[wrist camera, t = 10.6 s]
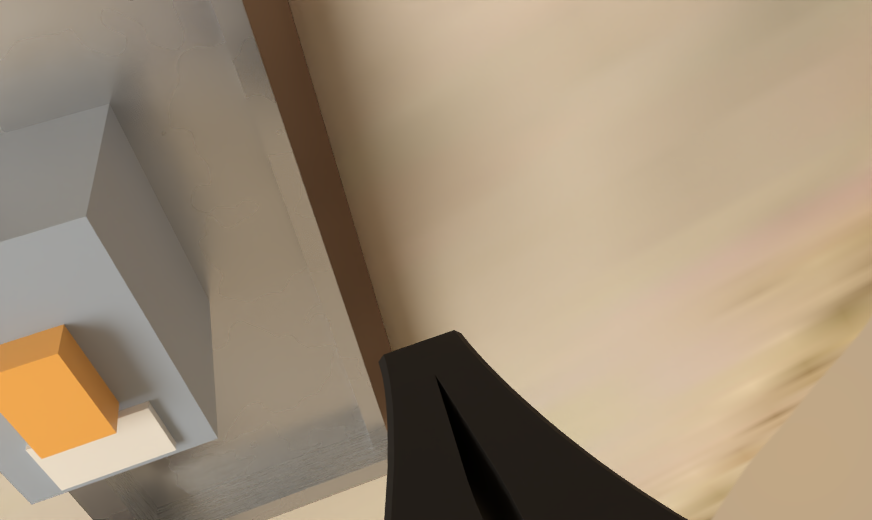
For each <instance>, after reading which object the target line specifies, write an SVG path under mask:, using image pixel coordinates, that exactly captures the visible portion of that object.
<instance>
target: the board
mask: <svg viewBox="0 0 872 520" xmlns="http://www.w3.org/2000/svg"><path fill="white" fill-rule="evenodd" d="M242 1H243V4H244V7H245V10H246V13H247V16H248V19H249V22H250V25H251V28H252V31H253V33H254V36H255V39H256V42H257V45H258V48H259V51H260V54H261V57H262V60H263V63H264V66H265V69H266V72H267V75H268V78H269V81H270V84H271V87H272V90H273V93H274V96H275V99H276V102H277V105H278V108H279V111H280V114H281V117H282V120H283V123H284V126H285V129H286V132H287V135H288V138H289V140H290V143H291V146H292V149H293V152H294V155H295V158H296V161H297V164H298V167H299V170H300V173H301V176H302V179H303V182H304V185H305V188H306V191H307V194H308V197H309V200H310V203H311V206H312V209H313V212H314V215H315V218H316V221H317V224H318V227H319V230H320V233H321V236H322V239H323V242H324V245H325V247H326V250H327V253H328V256H329V259H330V262H331V265H332V268H333V271H334V274H335V277H336V280H337V283H338V286H339V289H340V292H341V295H342V298H343V301H344V304H345V307H346V310H347V313H348V316H349V319H350V322H351V325H352V328H353V331H354V334H355V337H356V340H357V343H358V346H359V349H360V352H361V355H362V357H363V360H364V363H365V366H366V369H367V372H368V375H369V378H370V381H371V384H372V387H373V390H374V393H375V396H376V399H377V402H378V405H379V408H380V411H381V414H382V417H383V420H384V423H385V426H386V429H387V411H386V399H385V390H384V384H383V378H382V373H381V369H380V366H379V363H378V362H379V360H380V359H381V357H382V356H383V355H384V354H387V353H390V352H392V351H391V348H390V345H389V341H388V338H387V335H386V331H385V328H384V324H383V321H382V318H381V314H380V311H379V307H378V304H377V301H376V297H375V294H374V291H373V287H372V284H371V280H370V277H369V274H368V270H367V267H366V264H365V260H364V257H363V253H362V250H361V247H360V243H359V240H358V236H357V233H356V230H355V226H354V223H353V220H352V216H351V213H350V209H349V206H348V203H347V199H346V196H345V193H344V189H343V186H342V182H341V179H340V176H339V172H338V169H337V165H336V162H335V159H334V155H333V152H332V149H331V145H330V142H329V138H328V135H327V132H326V128H325V125H324V122H323V118H322V115H321V111H320V108H319V105H318V101H317V98H316V94H315V91H314V88H313V84H312V81H311V78H310V74H309V71H308V67H307V64H306V61H305V57H304V54H303V51H302V47H301V44H300V40H299V37H298V34H297V30H296V27H295V23H294V20H293V17H292V13H291V10H290V7H289V3H288V0H242Z"/></svg>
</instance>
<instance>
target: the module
mask: <svg viewBox="0 0 872 520" xmlns="http://www.w3.org/2000/svg"><path fill="white" fill-rule="evenodd" d="M215 439H218V430H217V414H216V398H215V382H214V366H213V350H212V334H211V318H210V302H209V300H208V298H207V296H206V294H205V292H204V290H203V288H202V286H201V284H200V282H199V280H198V278H197V276H196V274H195V272H194V270H193V268H192V266H191V264H190V262H189V260H188V258H187V256H186V254H185V252H184V250H183V248H182V246H181V244H180V242H179V240H178V238H177V236H176V234H175V232H174V231H173V229H172V227H171V225H170V223H169V221H168V219H167V217H166V215H165V213H164V211H163V209H162V207H161V205H160V203H159V201H158V199H157V197H156V195H155V193H154V191H153V189H152V187H151V185H150V183H149V181H148V179H147V177H146V175H145V173H144V171H143V169H142V167H141V165H140V163H139V161H138V159H137V157H136V155H135V153H134V151H133V149H132V147H131V145H130V143H129V141H128V139H127V137H126V136H125V134H124V132H123V130H122V128H121V126H120V124H119V122H118V120H117V118H116V116H115V114H114V112H113V110H112V108H111V106H110V104H106V105H103V106H99V107H96V108H92V109H88V110H85V111H81V112H78V113H74V114H70V115H67V116H63V117H60V118H56V119H52V120H49V121H45V122H42V123H38V124H34V125H31V126H27V127H24V128H20V129H16V130H13V131H9V132H6V133H2V134H0V472H1V473H2V474H3V475H4V476H5V477H6V479H7V480H8V481H9V482H10V483H11V484H12V485H13V486H14V487H15V488H16V489H17V490H18V491H19V492H20V493H21V494H22V495H23V496H24V497H25V498H26V499H27V500H28V501H29V502H30V503H31V504H35V503H37V502H40V501H43V500H46V499H49V498H52V497H54V496H57V495H60V494H63V493H66V492H68V491H71V490H74V489H77V488H80V487H83V486H85V485H88V484H91V483H94V482H97V481H100V480H102V479H105V478H108V477H111V476H114V475H116V474H119V473H122V472H125V471H128V470H131V469H133V468H136V467H139V466H142V465H145V464H148V463H150V462H153V461H156V460H159V459H162V458H164V457H167V456H170V455H173V454H176V453H179V452H181V451H184V450H187V449H190V448H193V447H196V446H198V445H201V444H204V443H207V442H210V441H212V440H215Z"/></svg>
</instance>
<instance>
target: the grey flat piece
mask: <svg viewBox="0 0 872 520" xmlns="http://www.w3.org/2000/svg"><path fill="white" fill-rule="evenodd" d="M106 104H110V106H111V108H112V110H113V112H114V114H115V116H116V118H117V120H118V122H119V124H120V126H121V128H122V130H123V132H124V134H125V136H126V137H127V139H128V141H129V143H130V145H131V147H132V149H133V151H134V153H135V155H136V157H137V159H138V161H139V163H140V165H141V167H142V169H143V171H144V173H145V175H146V177H147V179H148V181H149V183H150V185H151V187H152V189H153V191H154V193H155V195H156V197H157V199H158V201H159V203H160V205H161V207H162V209H163V211H164V213H165V215H166V217H167V219H168V221H169V223H170V225H171V227H172V229H173V231H174V232H175V234H176V236H177V238H178V240H179V242H180V244H181V246H182V248H183V250H184V252H185V254H186V256H187V258H188V260H189V262H190V264H191V266H192V268H193V270H194V272H195V274H196V276H197V278H198V280H199V282H200V284H201V286H202V288H203V290H204V292H205V294H206V296H207V298H208V300H209V302H210V318H211V334H212V350H213V366H214V382H215V398H216V414H217V430H218V439H215V440H212V441H210V442H207V443H204V444H201V445H198V446H196V447H193V448H190V449H187V450H184V451H181V452H179V453H176V454H173V455H170V456H167V457H164V458H162V459H159V460H156V461H153V462H150V463H148V464H145V465H142V466H139V467H136V468H133V469H131V470H128V471H125V472H122V473H119V474H116V475H114V476H111V477H108V478H105V479H102V480H100V481H97V482H94V483H91V484H88V485H85V486H83V487H80V488H77V489H74V490H71V491H68V492H69V493H70V494H71V495H72V496H73V497H74V499H75V500H76V501H77V502H78V503H79V504H80V505H81V507H82V508H83V509H84V510H85V511H86V512H87V513H88V515H89V516H90V517H91V518H92V519H93V520H267V519H270V518H273V517H275V516H278V515H281V514H283V513H286V512H289V511H291V510H294V509H297V508H300V507H302V506H305V505H308V504H310V503H313V502H316V501H318V500H321V499H324V498H326V497H329V496H332V495H334V494H337V493H340V492H342V491H345V490H348V489H350V488H353V487H356V486H358V485H361V484H364V483H366V482H369V481H372V480H375V479H377V478H380V477H383V476H385V475H387V466H388V464H387V429H386V426H385V423H384V420H383V417H382V414H381V411H380V408H379V405H378V402H377V399H376V396H375V393H374V390H373V387H372V384H371V381H370V378H369V375H368V372H367V369H366V366H365V363H364V360H363V357H362V355H361V352H360V349H359V346H358V343H357V340H356V337H355V334H354V331H353V328H352V325H351V322H350V319H349V316H348V313H347V310H346V307H345V304H344V301H343V298H342V295H341V292H340V289H339V286H338V283H337V280H336V277H335V274H334V271H333V268H332V265H331V262H330V259H329V256H328V253H327V250H326V247H325V245H324V242H323V239H322V236H321V233H320V230H319V227H318V224H317V221H316V218H315V215H314V212H313V209H312V206H311V203H310V200H309V197H308V194H307V191H306V188H305V185H304V182H303V179H302V176H301V173H300V170H299V167H298V164H297V161H296V158H295V155H294V152H293V149H292V146H291V143H290V140H289V138H288V135H287V132H286V129H285V126H284V123H283V120H282V117H281V114H280V111H279V108H278V105H277V102H276V99H275V96H274V93H273V90H272V87H271V84H270V81H269V78H268V75H267V72H266V69H265V66H264V63H263V60H262V57H261V54H260V51H259V48H258V45H257V42H256V39H255V36H254V33H253V31H252V28H251V25H250V22H249V19H248V16H247V13H246V10H245V7H244V4H243V1H242V0H0V134H2V133H6V132H9V131H13V130H16V129H20V128H24V127H27V126H31V125H34V124H38V123H42V122H45V121H49V120H52V119H56V118H60V117H63V116H67V115H70V114H74V113H78V112H81V111H85V110H88V109H92V108H96V107H99V106H103V105H106Z"/></svg>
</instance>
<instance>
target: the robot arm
mask: <svg viewBox="0 0 872 520" xmlns="http://www.w3.org/2000/svg"><path fill="white" fill-rule="evenodd" d="M378 363H379V366H380V369H381V373H382V378H383V384H384V390H385V399H386V411H387V464H388V466H387V487H386V502H385V517H384V520H688V519H686V518H684V517H682V516H681V515H679V514H677V513H676V512H674V511H672V510H671V509H669V508H668V507H666V506H665V505H663V504H662V503H660V502H658V501H657V500H655V499H654V498H652V497H651V496H649V495H648V494H646V493H644V492H643V491H641V490H640V489H638V488H637V487H635V486H634V485H633V484H631V483H630V482H628V481H627V480H625V479H624V478H622V477H621V476H619V475H618V474H617V473H615V472H614V471H612V470H611V469H610V468H608V467H607V466H605V465H604V464H603V463H601V462H600V461H599V460H597V459H596V458H595V457H593V456H592V455H591V454H589V453H588V452H587V451H585V450H584V449H583V448H582V447H580V446H579V445H578V444H576V443H575V442H574V441H573V440H571V439H570V438H569V437H568V436H566V435H565V434H564V433H563V432H561V431H560V430H559V429H558V428H557V427H555V426H554V425H553V424H552V423H551V422H549V421H548V420H547V419H546V418H545V417H544V416H542V415H541V414H540V413H539V412H538V411H537V410H536V409H535V408H533V407H532V406H531V405H530V404H529V403H528V402H527V401H526V400H524V399H523V398H522V397H521V396H520V395H519V394H518V393H517V392H516V391H515V390H514V389H512V388H511V387H510V386H509V385H508V384H507V383H506V382H505V381H504V380H503V379H502V378H501V377H500V376H499V375H498V374H497V373H496V372H495V371H494V370H493V369H492V368H491V367H490V366H489V365H488V364H487V363H486V362H485V360H484V359H483V358H482V357H481V356H480V355H479V354H478V353H477V352H476V351H475V349H474V348H473V347H472V346H471V345H470V344H469V343H468V341H467V340H466V339H465V338H464V336H463V335H462V334H461V333H459V332H457V331H455V330H453V331H450V332H447V333H445V334H442V335H439V336H436V337H433V338H430V339H427V340H424V341H421V342H419V343H416V344H413V345H410V346H407V347H404V348H401V349H398V350H396V351H393V352H390V353H387V354H384V355H383V356H382V357H381V359H380V360H379V362H378Z"/></svg>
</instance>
